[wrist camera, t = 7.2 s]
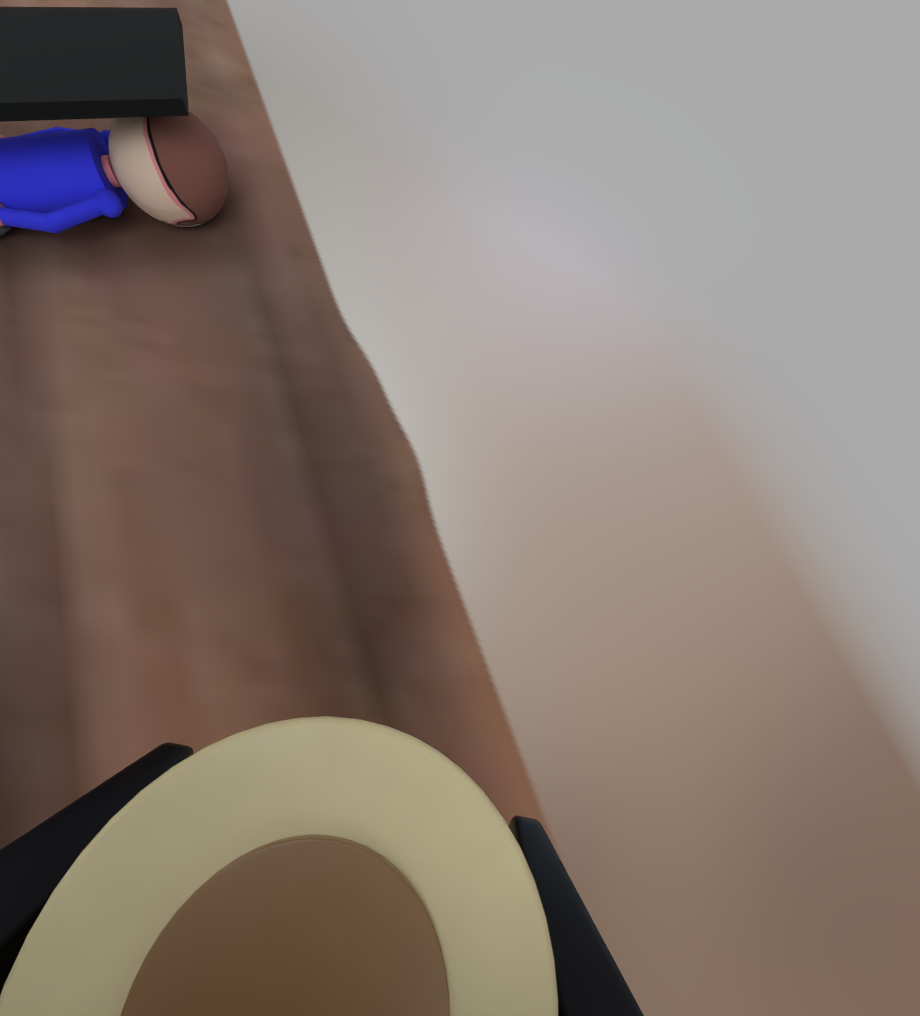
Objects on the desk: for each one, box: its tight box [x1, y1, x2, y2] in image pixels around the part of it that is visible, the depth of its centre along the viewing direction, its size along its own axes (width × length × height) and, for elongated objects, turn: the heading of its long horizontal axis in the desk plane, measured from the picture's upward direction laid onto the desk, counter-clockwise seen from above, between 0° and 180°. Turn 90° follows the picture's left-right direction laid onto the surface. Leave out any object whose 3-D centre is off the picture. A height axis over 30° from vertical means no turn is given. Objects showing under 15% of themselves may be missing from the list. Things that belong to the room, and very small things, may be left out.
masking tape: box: [0, 716, 558, 1016], centre depth 9 cm, size 5×5×10 cm
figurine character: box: [0, 7, 229, 236], centre depth 21 cm, size 7×8×15 cm
